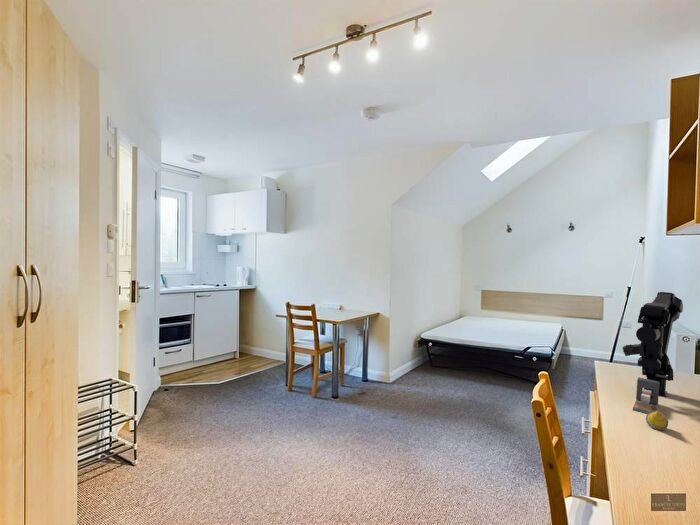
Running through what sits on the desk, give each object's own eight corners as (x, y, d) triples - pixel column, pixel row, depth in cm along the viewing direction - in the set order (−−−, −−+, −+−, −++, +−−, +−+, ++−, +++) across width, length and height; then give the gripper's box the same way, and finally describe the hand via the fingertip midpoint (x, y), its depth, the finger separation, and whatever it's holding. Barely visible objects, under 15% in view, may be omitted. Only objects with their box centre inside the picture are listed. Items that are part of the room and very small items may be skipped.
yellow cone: (671, 431, 117) (675, 416, 111) (653, 436, 118) (655, 422, 112) (659, 414, 121) (661, 400, 115) (641, 419, 122) (642, 405, 116)
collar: (636, 397, 140) (638, 377, 139) (658, 402, 136) (659, 381, 135) (636, 399, 137) (637, 379, 137) (657, 404, 133) (658, 383, 133)
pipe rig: (637, 399, 141) (638, 384, 141) (658, 404, 137) (659, 388, 137) (632, 410, 131) (633, 394, 130) (655, 415, 127) (656, 399, 126)
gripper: (628, 332, 152) (625, 371, 152) (621, 339, 138) (618, 382, 138) (664, 337, 144) (661, 378, 145) (661, 345, 130) (658, 390, 131)
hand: (649, 382), depth 140 cm, fingers closed
